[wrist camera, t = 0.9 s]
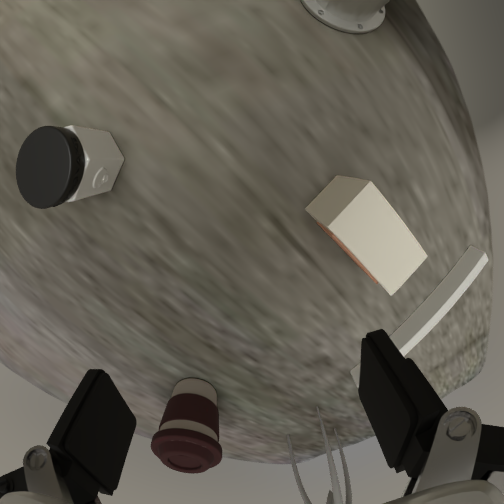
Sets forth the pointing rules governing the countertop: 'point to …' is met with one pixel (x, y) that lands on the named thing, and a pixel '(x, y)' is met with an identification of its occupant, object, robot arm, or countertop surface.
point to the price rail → (436, 303)
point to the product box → (368, 230)
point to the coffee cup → (189, 428)
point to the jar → (66, 165)
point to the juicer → (333, 498)
